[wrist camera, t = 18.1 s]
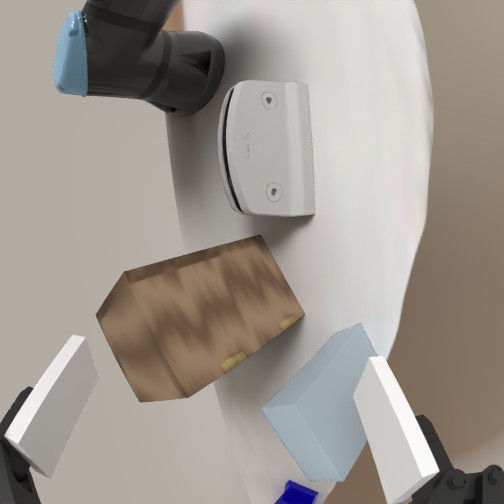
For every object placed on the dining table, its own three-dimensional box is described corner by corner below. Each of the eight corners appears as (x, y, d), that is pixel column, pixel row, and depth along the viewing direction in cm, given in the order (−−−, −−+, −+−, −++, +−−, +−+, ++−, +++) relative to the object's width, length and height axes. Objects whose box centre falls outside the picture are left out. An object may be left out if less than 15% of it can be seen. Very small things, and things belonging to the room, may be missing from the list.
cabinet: (207, 275, 47) (95, 314, 31) (262, 232, 38) (125, 269, 23) (243, 340, 45) (139, 402, 29) (307, 312, 37) (191, 397, 21)
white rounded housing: (315, 217, 33) (241, 226, 28) (289, 215, 37) (219, 223, 32) (307, 81, 30) (233, 64, 25) (282, 91, 34) (213, 80, 28)
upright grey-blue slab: (329, 335, 35) (254, 409, 23) (360, 322, 32) (294, 403, 20) (361, 394, 34) (303, 480, 21) (392, 386, 31) (343, 481, 18)
